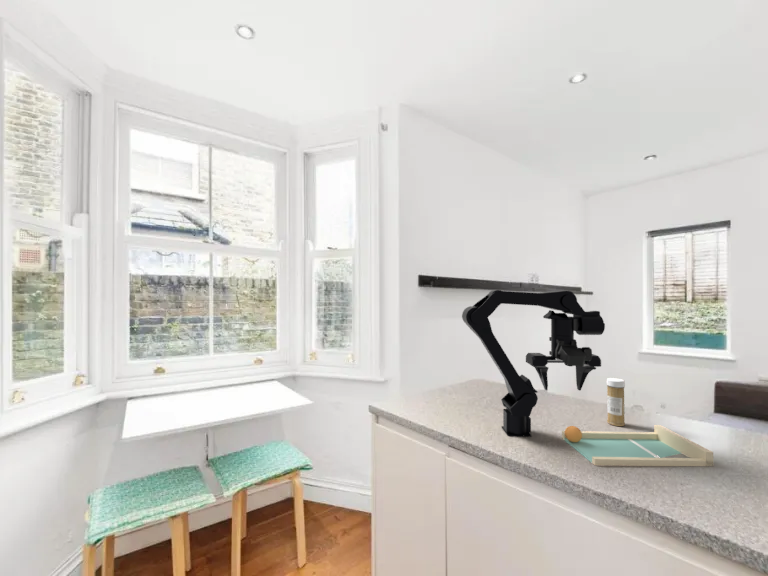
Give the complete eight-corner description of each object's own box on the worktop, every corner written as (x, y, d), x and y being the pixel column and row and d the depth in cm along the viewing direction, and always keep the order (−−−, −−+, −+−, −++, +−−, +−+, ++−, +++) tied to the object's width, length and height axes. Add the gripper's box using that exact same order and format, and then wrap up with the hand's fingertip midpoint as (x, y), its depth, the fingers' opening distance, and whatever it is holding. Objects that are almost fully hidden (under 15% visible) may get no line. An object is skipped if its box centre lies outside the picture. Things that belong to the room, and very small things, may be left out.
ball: (565, 442, 91) (573, 431, 89) (559, 431, 94) (567, 420, 93) (579, 447, 91) (588, 436, 90) (572, 436, 95) (580, 425, 93)
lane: (594, 467, 80) (594, 450, 80) (562, 438, 95) (562, 423, 95) (713, 470, 79) (713, 452, 79) (660, 439, 94) (660, 425, 95)
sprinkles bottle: (627, 424, 105) (627, 379, 105) (620, 428, 103) (620, 381, 103) (611, 420, 109) (610, 376, 109) (603, 423, 106) (603, 378, 106)
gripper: (540, 338, 92) (540, 398, 92) (613, 339, 91) (613, 399, 91) (524, 333, 103) (525, 386, 103) (589, 333, 102) (590, 387, 102)
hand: (562, 389), depth 100 cm, fingers open, 9 cm apart
